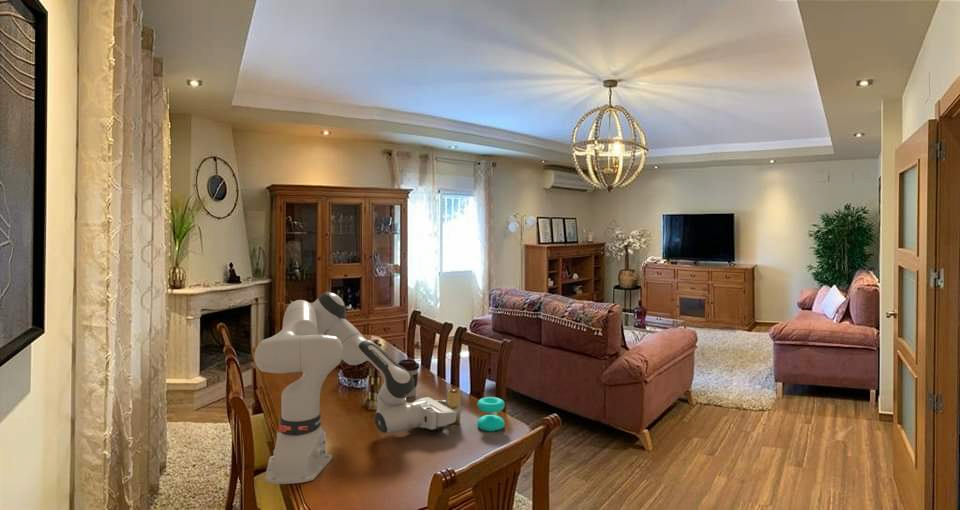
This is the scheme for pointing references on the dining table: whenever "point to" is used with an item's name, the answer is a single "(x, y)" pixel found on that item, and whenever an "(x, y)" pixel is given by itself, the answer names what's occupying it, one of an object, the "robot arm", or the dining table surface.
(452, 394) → the tan bottle
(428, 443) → the dining table surface
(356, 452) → the dining table surface
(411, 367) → the coffee cup
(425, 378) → the dining table surface
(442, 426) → the carrier
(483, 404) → the donuts
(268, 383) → the dining table surface
